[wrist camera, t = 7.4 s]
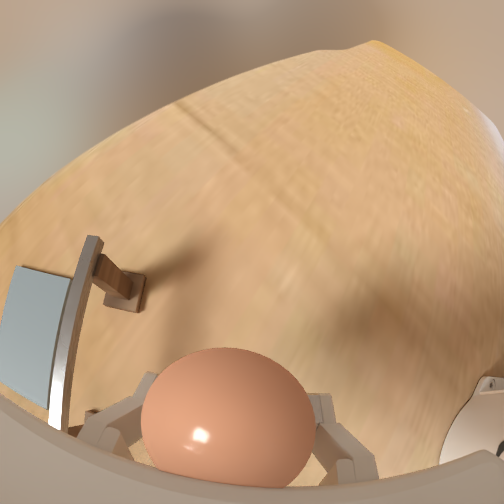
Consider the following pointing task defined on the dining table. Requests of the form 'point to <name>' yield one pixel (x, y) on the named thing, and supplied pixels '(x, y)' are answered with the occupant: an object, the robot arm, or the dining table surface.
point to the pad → (32, 332)
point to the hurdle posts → (115, 298)
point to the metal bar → (72, 333)
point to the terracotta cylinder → (229, 419)
